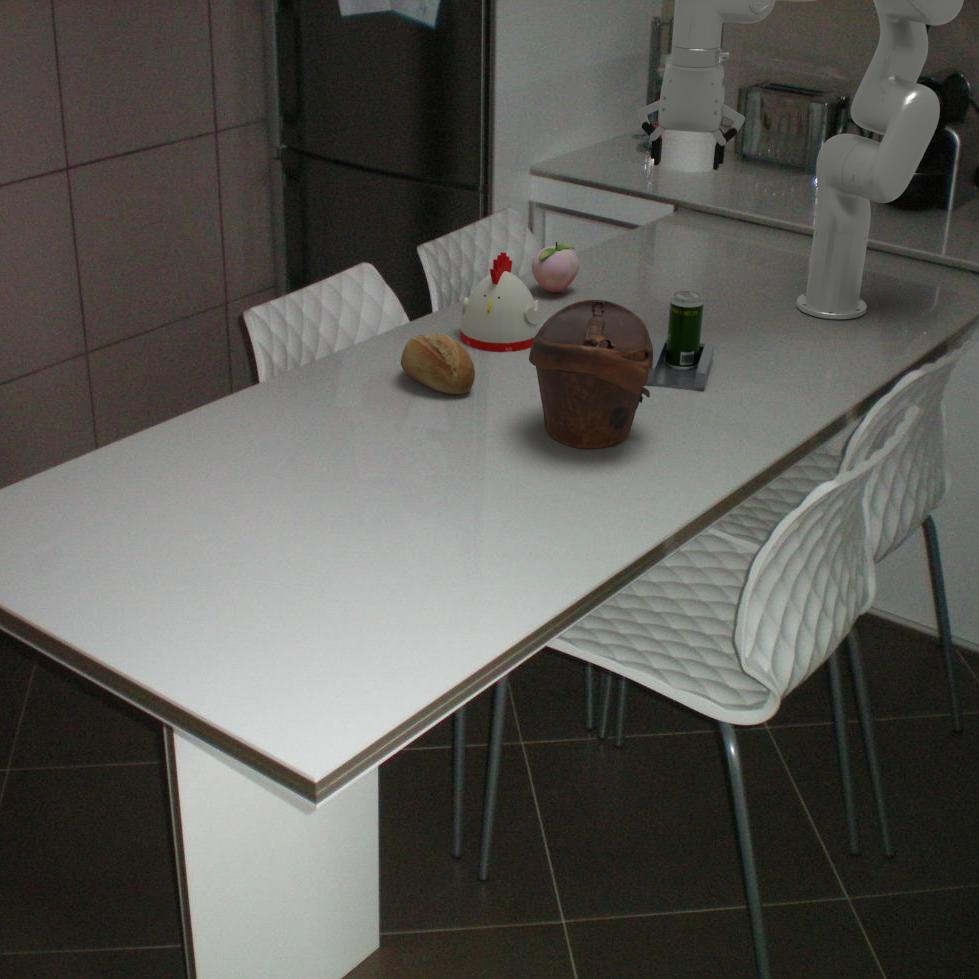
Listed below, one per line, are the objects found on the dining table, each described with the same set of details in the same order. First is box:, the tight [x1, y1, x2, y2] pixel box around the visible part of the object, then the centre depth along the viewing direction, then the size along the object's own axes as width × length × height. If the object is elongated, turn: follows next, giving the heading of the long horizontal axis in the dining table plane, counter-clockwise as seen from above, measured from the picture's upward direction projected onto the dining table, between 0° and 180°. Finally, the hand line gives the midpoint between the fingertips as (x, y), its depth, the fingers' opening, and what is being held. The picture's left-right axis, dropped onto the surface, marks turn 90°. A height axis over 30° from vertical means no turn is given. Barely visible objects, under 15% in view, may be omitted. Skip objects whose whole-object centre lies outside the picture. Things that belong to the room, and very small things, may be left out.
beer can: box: [666, 290, 704, 371], centre depth 224 cm, size 5×5×12 cm
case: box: [528, 299, 654, 450], centre depth 201 cm, size 18×20×18 cm
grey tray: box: [646, 338, 715, 392], centre depth 225 cm, size 13×10×3 cm
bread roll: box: [400, 333, 476, 395], centre depth 218 cm, size 10×15×8 cm, turn 39°
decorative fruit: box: [531, 241, 581, 294], centre depth 257 cm, size 9×8×10 cm
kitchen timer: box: [460, 252, 542, 353], centre depth 235 cm, size 14×14×15 cm
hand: (686, 165), depth 225 cm, fingers open, 9 cm apart
